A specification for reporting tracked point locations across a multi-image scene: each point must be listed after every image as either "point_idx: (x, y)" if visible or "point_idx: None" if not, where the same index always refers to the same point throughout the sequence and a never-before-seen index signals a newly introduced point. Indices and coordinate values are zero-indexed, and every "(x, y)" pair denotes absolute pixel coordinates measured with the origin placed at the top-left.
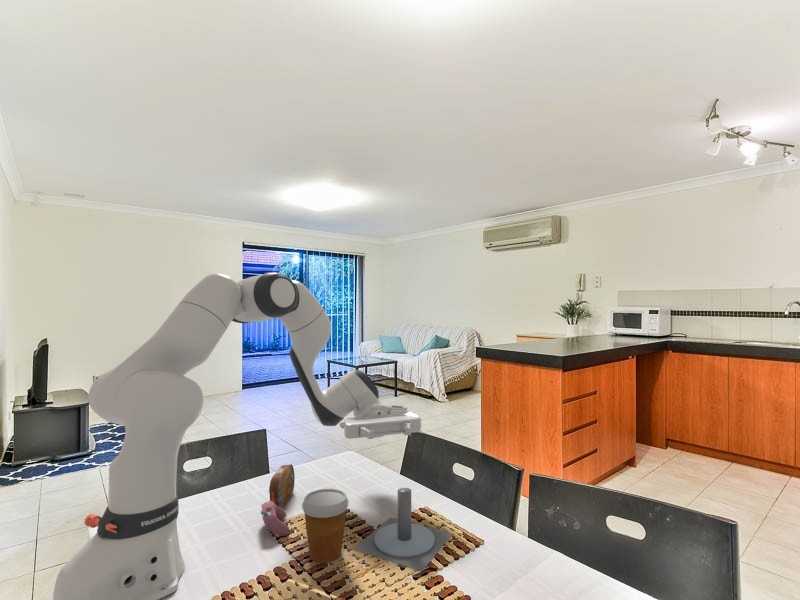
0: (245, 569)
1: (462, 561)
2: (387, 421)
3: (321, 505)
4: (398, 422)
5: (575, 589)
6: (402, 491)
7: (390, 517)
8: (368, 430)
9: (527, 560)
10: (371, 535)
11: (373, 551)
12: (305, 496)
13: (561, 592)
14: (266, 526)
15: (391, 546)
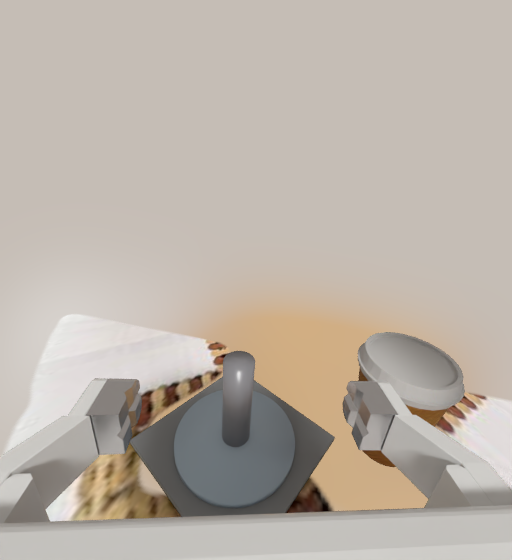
0: (501, 437)
1: (171, 377)
2: (221, 526)
3: (404, 342)
4: (77, 522)
5: (102, 322)
6: (244, 358)
7: None
8: (394, 404)
9: (90, 360)
10: (299, 479)
11: (296, 421)
12: (459, 367)
13: (118, 323)
14: None
15: (266, 412)
